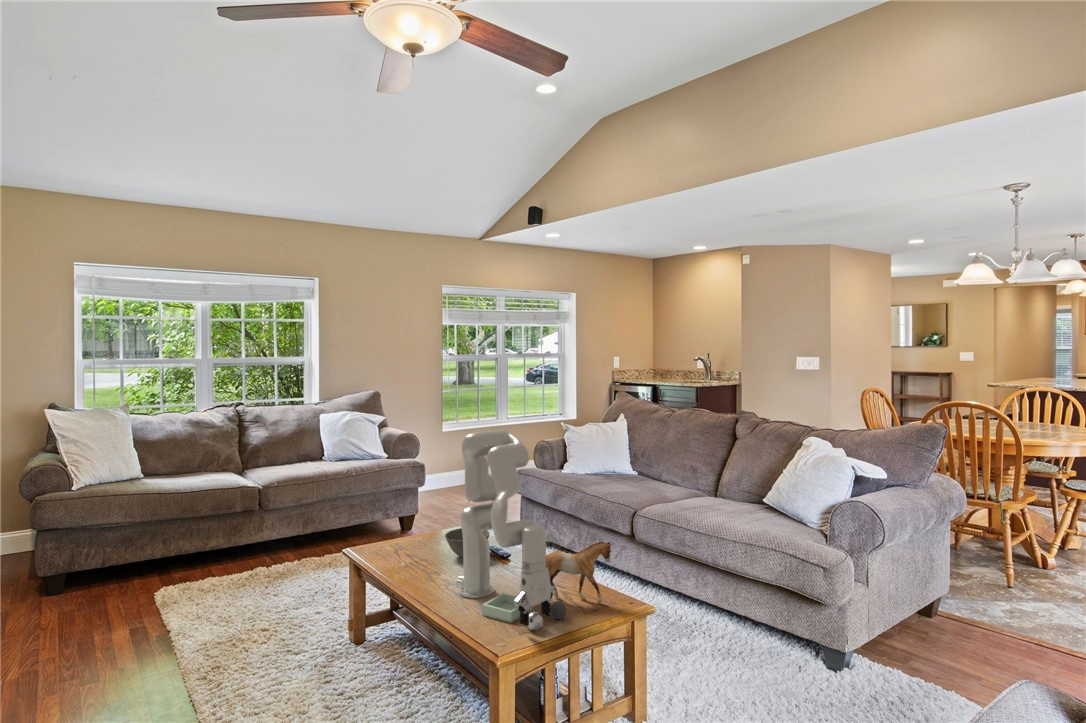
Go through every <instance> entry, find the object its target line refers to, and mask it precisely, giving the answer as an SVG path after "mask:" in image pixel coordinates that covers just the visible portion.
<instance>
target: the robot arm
mask: <svg viewBox="0 0 1086 723" xmlns="http://www.w3.org/2000/svg"><path fill="white" fill-rule="evenodd" d="M461 452H462V457H463V461H464V494H465V495H464V496H465V499H466V501H467V502H470V503H473V505H470V506H466V507H465V508H464V509H463V510H462V511H461V512H460V514H459V522H460V528H462V534H463V558H462V559H463V562H462V564H463V576H461V575H459V576H458V578H457V579H456V581H455V583H456V584H458V585H461V587H460V588H459V594H460V595H461V596H462V597H464V598H467V599H482V598H487V597H490V596H492V595H493V593H494V592H495V587H494V585H492V584H491V572H490V571H491V568H490V567H491V565H490V564H491V563H490V561H491V560H490V559H491V557H490V555H491V554H490V552H491V551H490V541H489V538H488V539H487V538H486V537H485V535H484V534H483V532H484V531H490V530H491V531H492V532H493V535H494V538H495V541H496V543H497V544H498V545H499V546H500V547H501V548H511V547H515V546H516V547H517V546H521V560H522V561H521V563H522V564H521V567H520V568H521V573H520V574H521V575H520V582H519V583H520V584H519V595H518V597H517V598H516V599H515V601H514V604H515V606H516V608H517V609H518V611H519V612H520V618H519V623H520V625H523V626H525V627H528V626H529V613H530V612H528V613H527V611H528V609H529V607H530V606H532V607H535V606H538V605H540V604H541V605H540V606H541V607H540V608H541V609H540V610H541V615H542V616H546V617H550V616H551V614H550V606H551V604H552V599H553V596H554V592H555V591H554V588H555V587H556V586H555V585H554V586H555V587H554V586H552V585H551V584H550V576H549V571H548V568H547V567H546V555H547V544H546V542H547V541H546V537H547V536H546V529H545V527H544V526H542V525H540V524H537V523H536V522H535V521H533V520H532V519H529V518H527V519H523V520H522V519H521V520H514V521H511V522H510V521H509V522H507V520H508V504H509V501H508V500H509V499H510V498H512V497H513V496H515V495H517V494H518V493H519V492H520V491H521V490H522V483H521V481H520V478H519V473H518V470H517V469H519V468H524V467H526V466H527V465H528V464H529V460H530V455H529V452H528V449H527V447H526V446H525V444H524V443H523V442H522V441H521V440H520V439H519V438H517V437H516V436H515V435H514V434H513V433H511V432H510V431H509V430H505V429H499V430H498V429H497V430H486V431H477V432H471V433H469V434H466V435H465V436H464V437H463V439H462V442H461ZM486 457H487V458H486ZM489 469H490V473H489ZM488 501H490V502H488ZM482 502H483V503H482ZM484 502H487V503H484ZM474 503H481V504H475V505H474ZM524 605H526V607H525V609H524V608H523V607H524Z"/></svg>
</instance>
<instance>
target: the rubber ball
mask: <svg viewBox="0 0 1086 723" xmlns="http://www.w3.org/2000/svg"><path fill="white" fill-rule="evenodd" d="M567 610H568V609H567V606H566V604H565V603H564V602H563V601H559V600H556V601H554V602H551V604H550V616H551V617H552V618H553V619H556V620H561V619H563V618H564V617H565V616H566V614H567Z"/></svg>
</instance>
